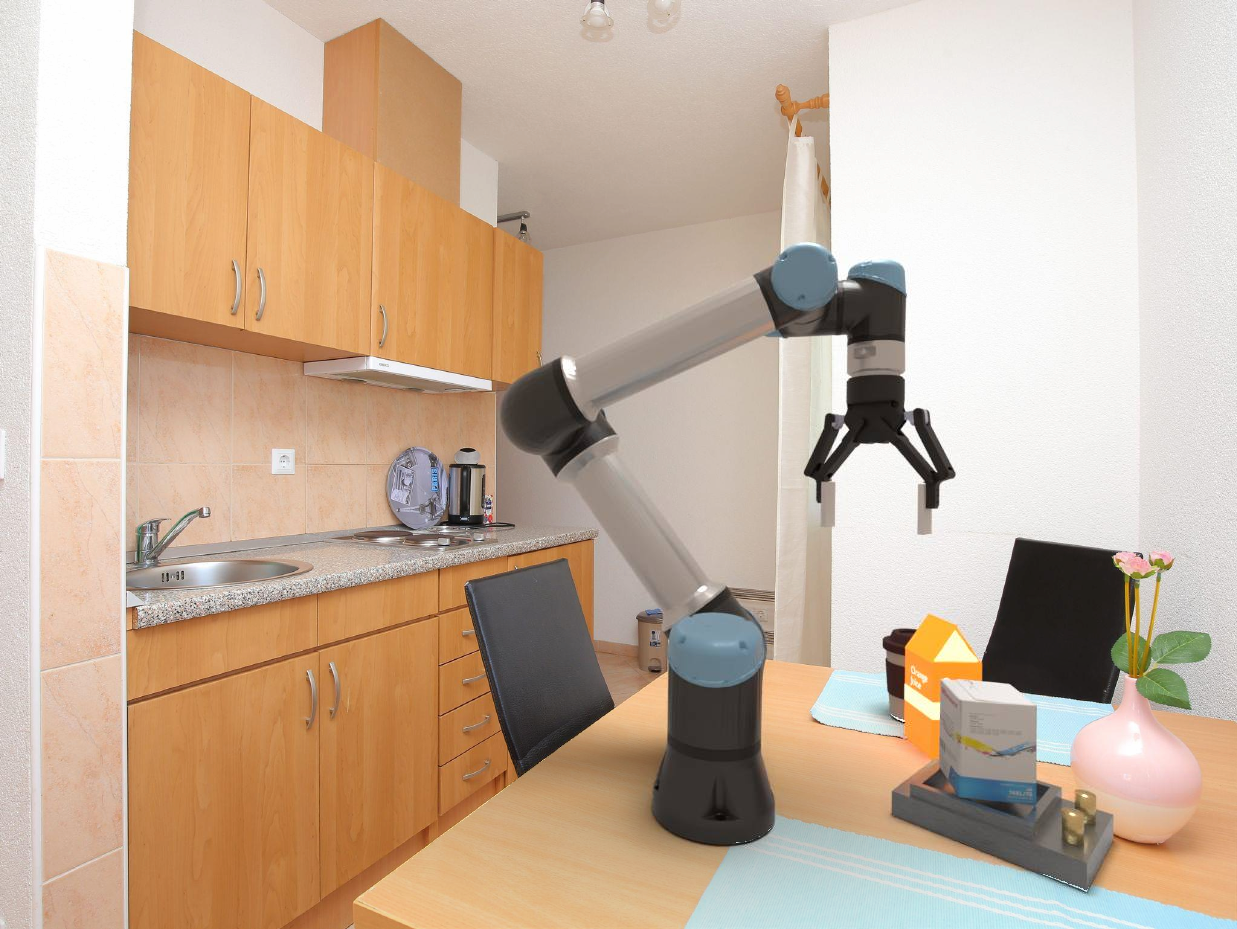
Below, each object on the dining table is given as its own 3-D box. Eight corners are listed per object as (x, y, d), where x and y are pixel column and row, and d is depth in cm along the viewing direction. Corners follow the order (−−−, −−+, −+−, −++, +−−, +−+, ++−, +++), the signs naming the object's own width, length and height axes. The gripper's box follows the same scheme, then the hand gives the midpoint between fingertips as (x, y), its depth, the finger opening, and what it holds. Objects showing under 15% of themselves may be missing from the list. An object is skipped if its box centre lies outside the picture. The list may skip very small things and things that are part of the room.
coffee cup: (873, 719, 112) (874, 632, 112) (892, 704, 120) (893, 623, 120) (935, 734, 106) (936, 643, 106) (950, 718, 113) (951, 632, 114)
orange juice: (950, 736, 105) (951, 613, 106) (982, 760, 97) (983, 626, 97) (902, 736, 105) (904, 613, 105) (930, 760, 96) (932, 625, 97)
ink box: (1038, 807, 74) (1039, 705, 74) (957, 798, 76) (958, 698, 76) (1009, 773, 82) (1010, 681, 83) (937, 766, 84) (938, 676, 84)
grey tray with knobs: (891, 815, 80) (892, 766, 80) (934, 779, 90) (935, 736, 90) (1086, 892, 66) (1087, 833, 66) (1113, 840, 76) (1113, 788, 76)
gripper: (781, 381, 96) (779, 524, 95) (962, 362, 78) (961, 539, 77) (808, 387, 101) (806, 522, 101) (983, 370, 83) (981, 536, 82)
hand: (873, 530), depth 89 cm, fingers open, 13 cm apart
